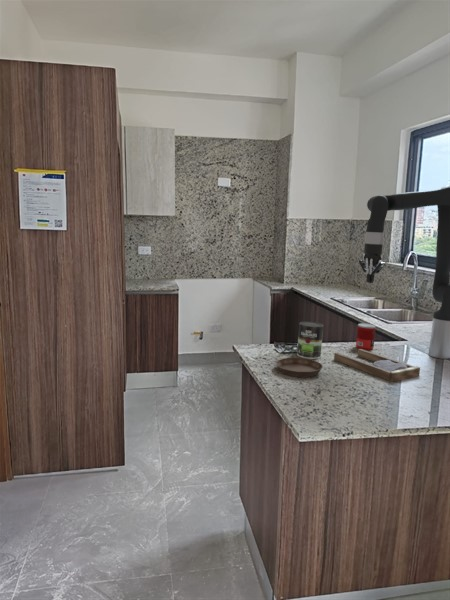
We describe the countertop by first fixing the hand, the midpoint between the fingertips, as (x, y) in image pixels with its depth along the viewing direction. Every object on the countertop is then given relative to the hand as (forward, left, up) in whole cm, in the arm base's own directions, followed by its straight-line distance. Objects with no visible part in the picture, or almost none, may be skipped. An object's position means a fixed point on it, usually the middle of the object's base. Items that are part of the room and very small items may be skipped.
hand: (369, 282), depth 200 cm
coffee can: (+26, -7, -32) cm, 42 cm away
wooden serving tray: (+12, +16, -32) cm, 38 cm away
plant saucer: (+44, +7, -32) cm, 55 cm away
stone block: (+12, +23, -32) cm, 42 cm away
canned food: (-8, -6, -32) cm, 34 cm away
